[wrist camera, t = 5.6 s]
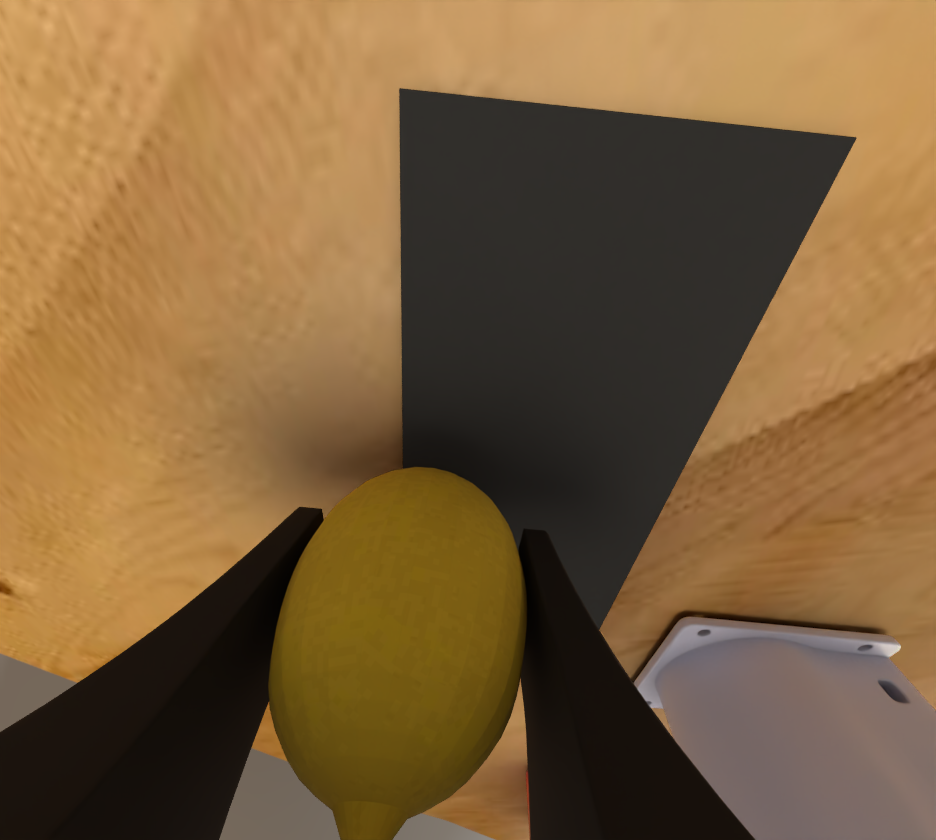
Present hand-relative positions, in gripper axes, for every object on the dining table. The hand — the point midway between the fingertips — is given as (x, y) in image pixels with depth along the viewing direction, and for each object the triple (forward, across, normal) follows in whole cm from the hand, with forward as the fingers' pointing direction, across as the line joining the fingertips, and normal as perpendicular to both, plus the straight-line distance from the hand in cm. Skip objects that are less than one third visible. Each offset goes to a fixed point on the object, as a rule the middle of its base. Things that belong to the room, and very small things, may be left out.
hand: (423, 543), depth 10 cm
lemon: (+3, 0, 0) cm, 3 cm away
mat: (+3, -3, 0) cm, 4 cm away
